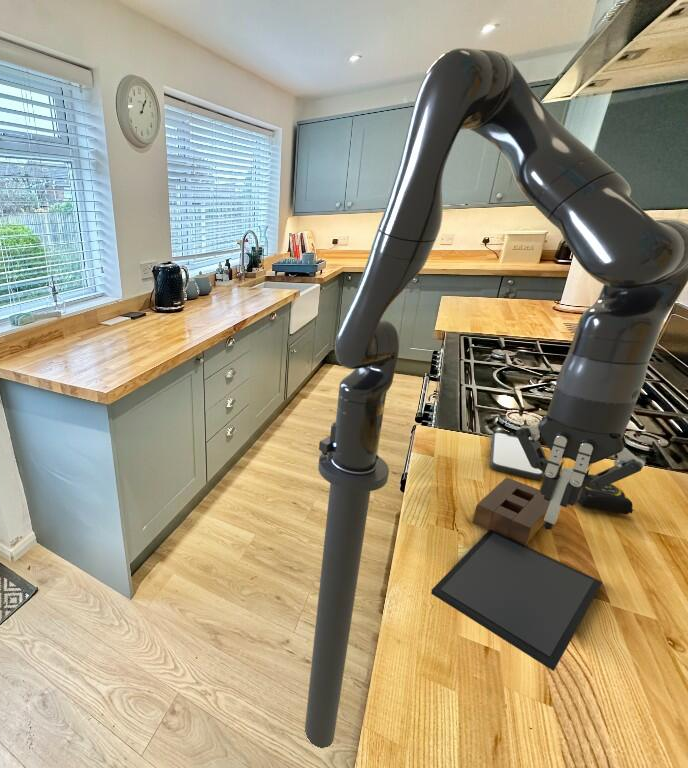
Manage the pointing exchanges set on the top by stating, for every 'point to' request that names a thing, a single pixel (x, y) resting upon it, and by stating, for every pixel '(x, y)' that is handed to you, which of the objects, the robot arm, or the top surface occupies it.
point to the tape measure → (605, 499)
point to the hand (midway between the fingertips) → (556, 500)
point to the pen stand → (512, 511)
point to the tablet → (519, 595)
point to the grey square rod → (557, 498)
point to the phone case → (511, 457)
